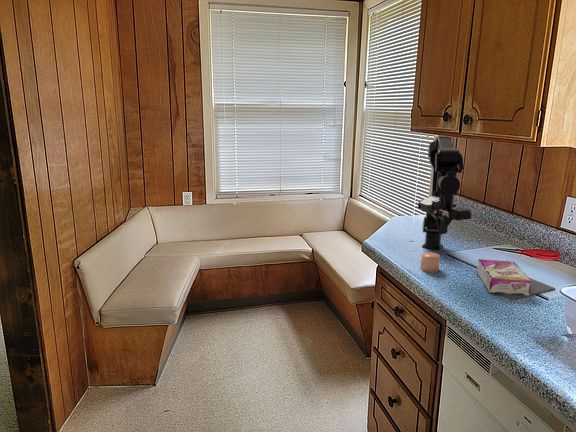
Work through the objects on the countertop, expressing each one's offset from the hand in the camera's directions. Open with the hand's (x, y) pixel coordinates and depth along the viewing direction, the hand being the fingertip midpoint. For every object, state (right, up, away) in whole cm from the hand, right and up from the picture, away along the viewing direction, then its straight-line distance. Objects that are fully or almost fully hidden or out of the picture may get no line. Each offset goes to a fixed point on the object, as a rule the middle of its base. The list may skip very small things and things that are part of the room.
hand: (441, 234), depth 140 cm
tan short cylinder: (-3, -12, +2) cm, 13 cm away
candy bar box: (+16, -10, -4) cm, 20 cm away
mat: (+19, -16, -14) cm, 28 cm away
